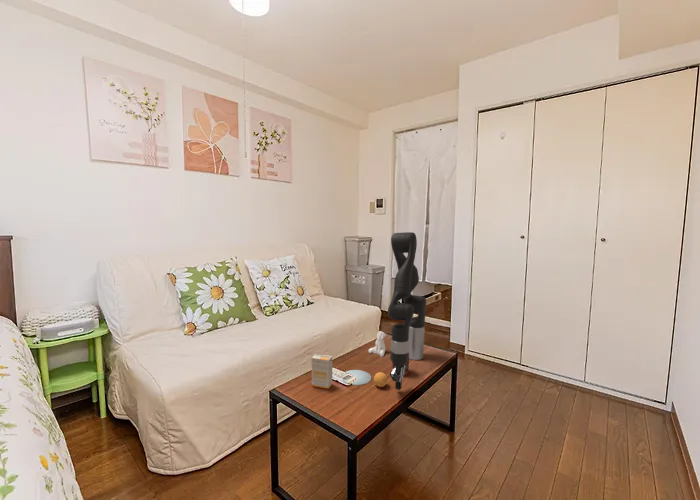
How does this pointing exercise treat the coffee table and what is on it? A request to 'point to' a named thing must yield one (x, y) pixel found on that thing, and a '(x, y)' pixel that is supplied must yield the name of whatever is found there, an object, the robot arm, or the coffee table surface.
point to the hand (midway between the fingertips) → (398, 388)
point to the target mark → (360, 377)
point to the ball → (380, 379)
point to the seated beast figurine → (379, 344)
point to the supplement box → (322, 371)
